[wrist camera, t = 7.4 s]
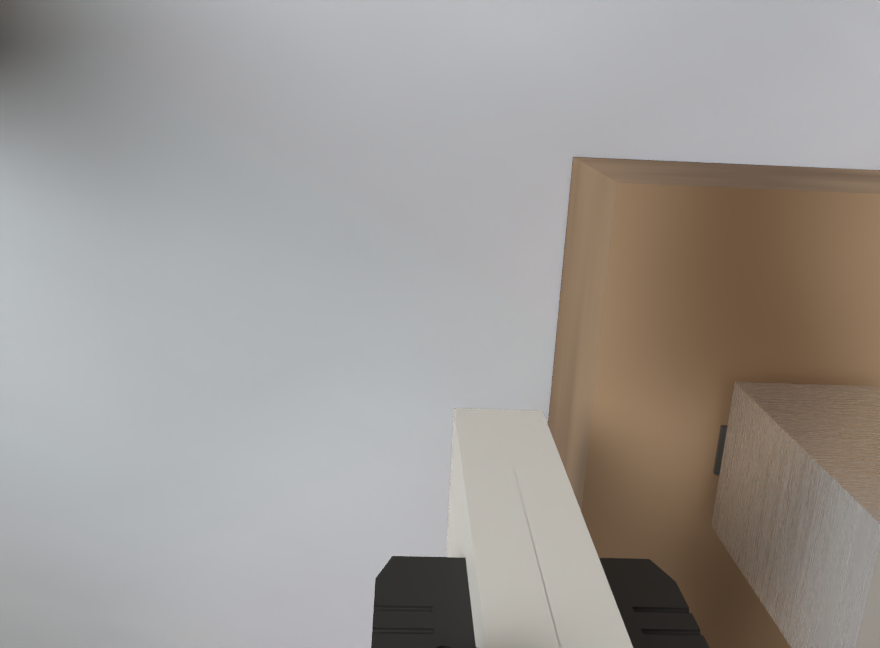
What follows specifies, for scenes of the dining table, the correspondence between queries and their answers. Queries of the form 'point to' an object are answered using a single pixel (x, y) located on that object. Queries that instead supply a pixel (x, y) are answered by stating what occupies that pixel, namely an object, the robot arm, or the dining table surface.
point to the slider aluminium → (806, 507)
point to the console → (700, 346)
